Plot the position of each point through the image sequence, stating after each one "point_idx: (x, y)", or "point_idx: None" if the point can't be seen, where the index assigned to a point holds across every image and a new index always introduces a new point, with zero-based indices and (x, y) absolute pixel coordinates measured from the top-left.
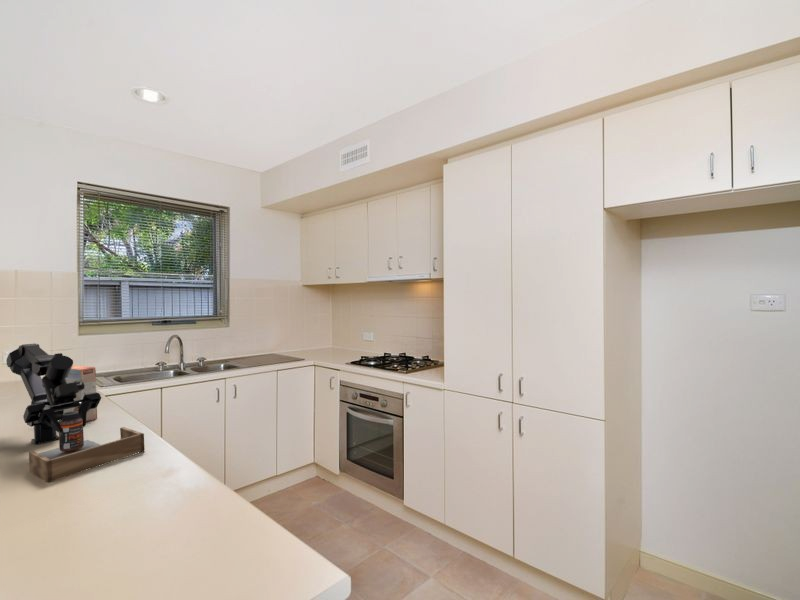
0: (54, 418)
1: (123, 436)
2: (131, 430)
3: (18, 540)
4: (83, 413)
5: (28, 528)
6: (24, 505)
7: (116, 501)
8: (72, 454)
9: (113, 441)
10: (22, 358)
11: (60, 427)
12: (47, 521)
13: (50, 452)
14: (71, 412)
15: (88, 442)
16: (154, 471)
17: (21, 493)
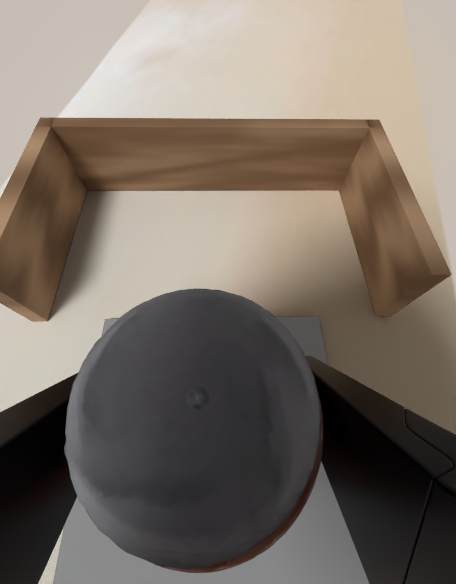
0: (420, 439)
1: (27, 271)
2: (13, 186)
3: (396, 43)
4: (3, 435)
5: (386, 56)
6: (394, 117)
7: (270, 41)
8: (302, 120)
9: (155, 125)
10: None
11: (311, 363)
12: (362, 55)
13: (295, 541)
14: (166, 428)
15: (85, 533)
16: (166, 75)
17: (403, 170)
